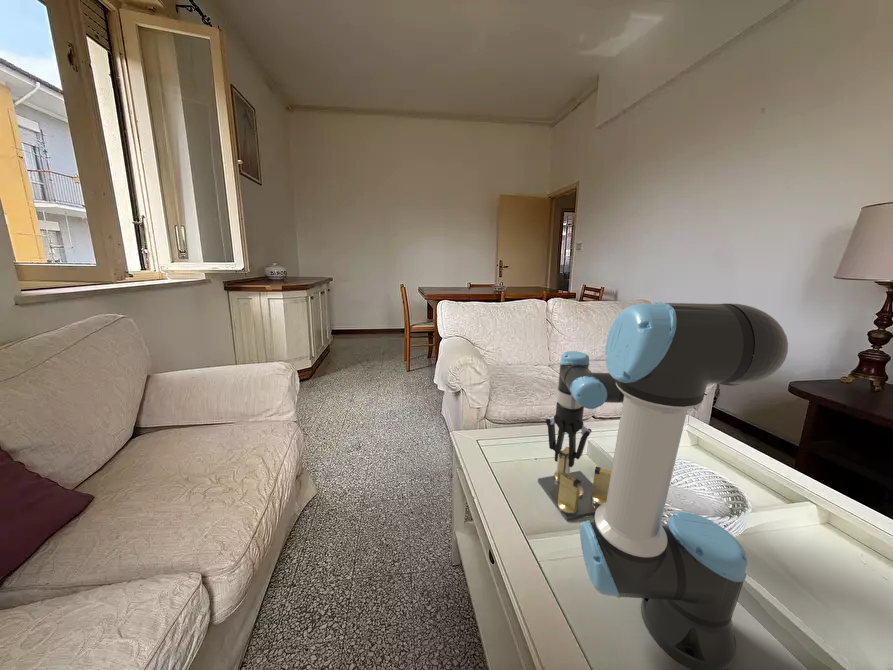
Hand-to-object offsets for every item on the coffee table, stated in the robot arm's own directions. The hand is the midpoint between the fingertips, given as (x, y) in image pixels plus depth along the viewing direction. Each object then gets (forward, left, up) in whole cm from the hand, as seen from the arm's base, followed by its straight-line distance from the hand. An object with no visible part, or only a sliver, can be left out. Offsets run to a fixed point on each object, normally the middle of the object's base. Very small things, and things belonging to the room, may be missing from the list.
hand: (563, 472), depth 106 cm
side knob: (-11, -6, -2) cm, 12 cm away
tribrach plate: (-6, 0, -4) cm, 7 cm away
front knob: (-11, +5, -2) cm, 12 cm away
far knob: (0, 0, -2) cm, 2 cm away
